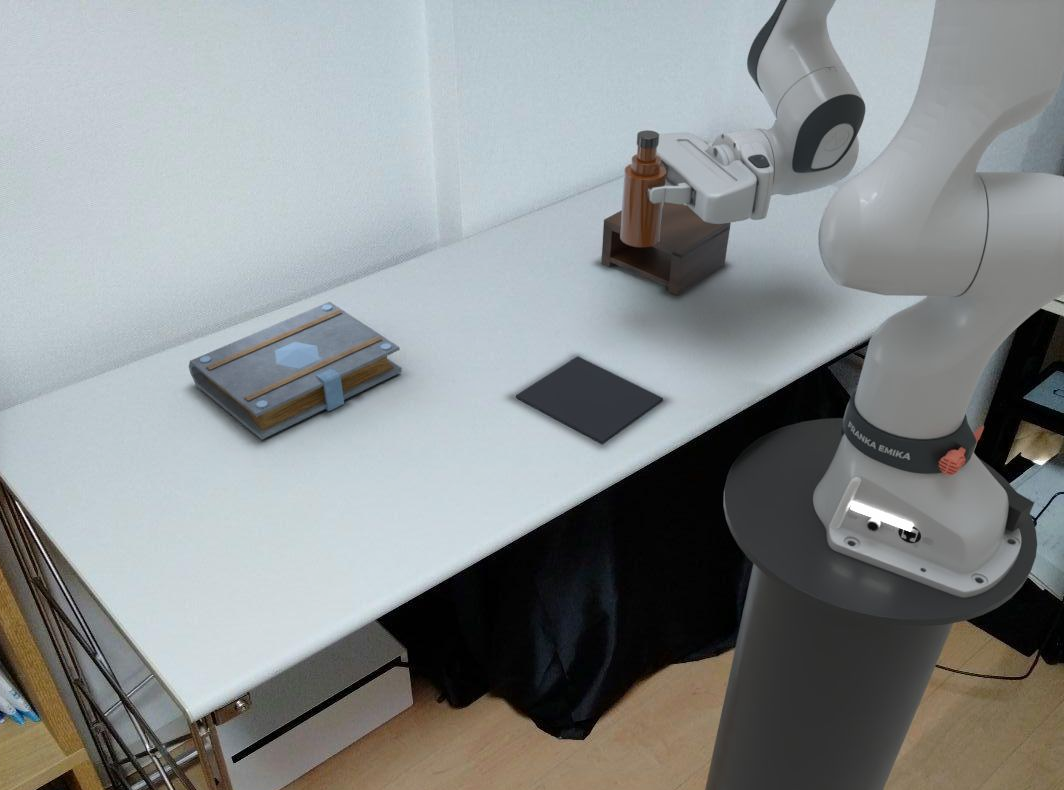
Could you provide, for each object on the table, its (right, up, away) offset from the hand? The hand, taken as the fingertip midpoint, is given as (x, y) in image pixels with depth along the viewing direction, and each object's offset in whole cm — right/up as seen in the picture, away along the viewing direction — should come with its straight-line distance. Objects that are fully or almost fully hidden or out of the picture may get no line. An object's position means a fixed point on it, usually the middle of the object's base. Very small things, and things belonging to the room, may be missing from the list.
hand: (638, 184), depth 130 cm
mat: (-6, -27, 0) cm, 28 cm away
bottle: (+1, -5, +5) cm, 7 cm away
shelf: (+6, -3, +25) cm, 26 cm away
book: (-43, -24, +3) cm, 50 cm away
